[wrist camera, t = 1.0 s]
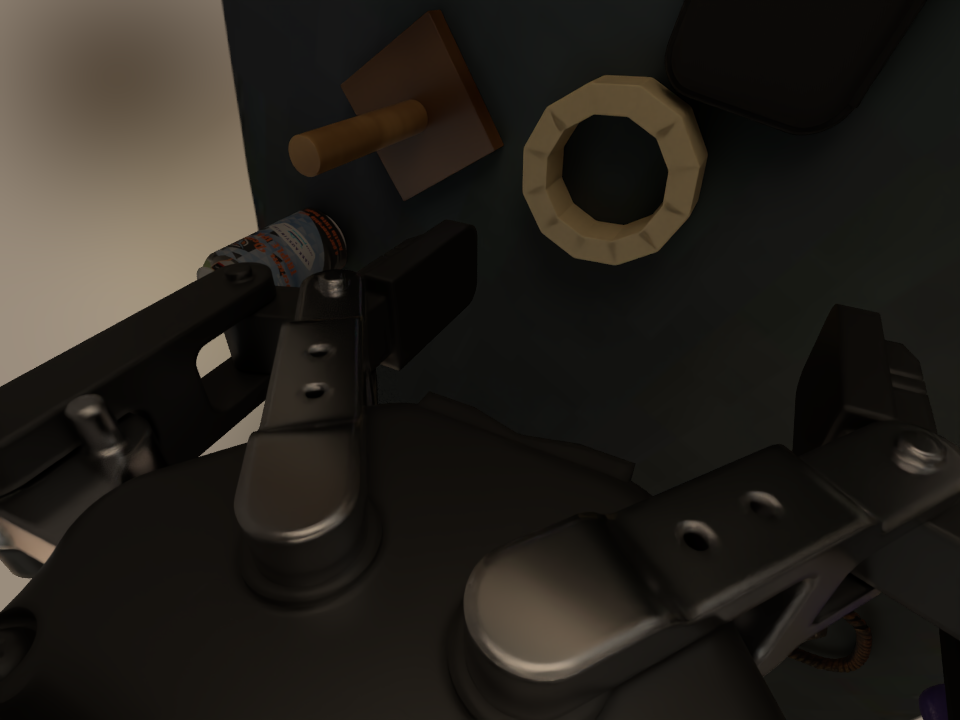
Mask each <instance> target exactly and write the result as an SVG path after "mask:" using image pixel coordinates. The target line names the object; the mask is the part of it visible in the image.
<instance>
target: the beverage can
mask: <svg viewBox="0 0 960 720" xmlns="http://www.w3.org/2000/svg"><path fill="white" fill-rule="evenodd" d="M346 250H347V249H346V242H345V239H344V236H343V234H342V232H341V230H340V228H339V227H338V226H337V224H336V223H335V222H334V221H333V220H332V219H331V218H330V217H328V216H327V215H325V214H324V213H322V212H321V211H319V210H317V209H314V208H305V209H303V210H301V211H299V212H296V213H294V214H292V215H290V216H288V217H286V218H284V219H282V220H280V221H278V222H276V223H274V224H272V225H270V226H267V227H265V228H263V229H261V230H259V231H257V232H255V233H253V234H251V235H249V236H247V237H245V238H243V239H241V240H239V241H236V242H234V243H232V244H230V245H228V246H226V247H224V248H222V249H220V250H218V251H216V252H214V253H212V254H210V255H209V256H208V258H207V259H206V261H205V263H204V265H203V267H201V268H199V269H198V271H197V280H198V279H200V278H202V277H204V276H205V275H207V274H209V273H211V272H213V271H215V270H217V269H219V268H221V267H224V266H227V265H230V264H235V263H241V262H256V263H261V264H265V265H267V266H268V267H269V268H270V269H271V271H272V275H273V279H274V284H275V286H287V287H300V285H301V283H302V282H303V280H304V279H306V278H307V277H309V276H310V275H312V274H315V273H317V272H321V271H325V270H332V269H343V267H344V266H345V264H346V261H347V251H346Z"/></svg>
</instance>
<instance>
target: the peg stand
mask: <svg viewBox="0 0 960 720" xmlns="http://www.w3.org/2000/svg"><path fill="white" fill-rule="evenodd" d="M340 86H341V88H342V90H343V91H344V93H345V95H346V97H347V99H348V101H349V102H350V104H351V106H352V108H353V110H354V111H355V113H356V115H357V116H356V117H353V118H349V119H346V120H343V121H340V122H337V123H333V124H330V125H327V126H324V127H321V128H317V129H314V130H311V131H308V132H305V133H301V134H298V135H295V136H294V137H293V138H292V139H291V140H290V143H289V155H290V159H291V161H292V163H293V165H294V166H295V168H296V169H297V170H298V171H299V172H300V173H301V174H303V175H305V176H308V177H313V176H316V175H318V174H321V173H323V172H326V171H328V170H331V169H333V168H336V167H338V166H341V165H343V164H346V163H348V162H351V161H353V160H355V159H358V158H360V157H363V156H365V155H368V154H370V153H373V152H375V151H376V152H377V153H378V155H379V157H380V159H381V161H382V163H383V164H384V166H385V168H386V170H387V172H388V173H389V175H390V177H391V179H392V181H393V183H394V184H395V186H396V188H397V190H398V192H399V194H400V195H401V197H402V199H403V201H405V200H407V199H409V198H411V197H413V196H415V195H416V194H418V193H420V192H422V191H423V190H425V189H427V188H429V187H431V186H432V185H434V184H436V183H438V182H440V181H441V180H443V179H445V178H447V177H449V176H450V175H452V174H454V173H456V172H458V171H459V170H461V169H463V168H465V167H466V166H468V165H470V164H472V163H474V162H475V161H477V160H479V159H481V158H483V157H484V156H486V155H488V154H490V153H492V152H493V151H495V150H497V149H499V148H501V147H502V146H504V144H503V142H502V140H501V138H500V136H499V133H498V131H497V129H496V127H495V125H494V123H493V121H492V118H491V116H490V114H489V112H488V110H487V108H486V106H485V104H484V101H483V99H482V97H481V95H480V93H479V91H478V89H477V87H476V84H475V82H474V80H473V78H472V76H471V74H470V72H469V70H468V67H467V65H466V63H465V61H464V59H463V57H462V55H461V53H460V50H459V48H458V46H457V44H456V42H455V40H454V38H453V36H452V33H451V31H450V29H449V27H448V25H447V23H446V21H445V18H444V16H443V14H442V12H441V10H433V11H427V12H426V13H425V14H424V15H423V16H421V17H420V18H419V19H418V20H417V21H416V22H414V23H413V24H412V25H411V26H410V27H409V28H407V29H406V30H405V31H404V32H403V33H401V34H400V35H399V36H398V37H397V38H396V39H394V40H393V41H392V42H391V43H390V44H389V45H387V46H386V47H385V48H384V49H383V50H381V51H380V52H379V53H378V54H377V55H376V56H374V57H373V58H372V59H371V60H370V61H368V62H367V63H366V64H365V65H364V66H363V67H361V68H360V69H359V70H358V71H357V72H356V73H354V74H353V75H352V76H351V77H350V78H348V79H347V80H346V81H345V82H344V83H343V84H341V85H340Z"/></svg>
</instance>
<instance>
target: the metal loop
mask: <svg viewBox="0 0 960 720" xmlns="http://www.w3.org/2000/svg"><path fill="white" fill-rule="evenodd" d="M842 618H843V619H845V620H846V621H847V622H848V623H849V624H851V625H852V626H853V627H854V629H855V631H856V635H857V639H856V644H855V648H854V650H853V652H852V653H851V654H850V655H849V656H847V657H844V658H839V659H829V658H824V657H820V656H817V655H814V654H811V653H809V652H806V651H804V650H801V649H799V648H796V649H794V650H793V651H792V652H791V653H790V654H789V655H788V657H790V658H793V659H795V660H797V661H801V662H803V663H806V664H808V665H810V666H813V667H815V668H817V669H824V670H827V671H833V672H847V673H848V672H850V671H854V670H856V669H857V668H858V669H859V668H860V667H861V666H862V665H864V663H865V662H866V661H867V659H868V658H869V654H870V651H871V645H872V634H871V630H870V628H869V627H868V626H867V625H866V622H865V621H864V620H863V619H861V618H860V616H859V615H858V614H857V613H856V612H854V611H852V612H850V613H848V614H847V615H845V616H844V617H842ZM826 634H827V627H826V628H825V629H823V630H821V631H820V632H818V633H817V634H815V635H813V636H812V637H810V638H809V639H807V640H812V639H817V638H821V637H824V636H826Z"/></svg>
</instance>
